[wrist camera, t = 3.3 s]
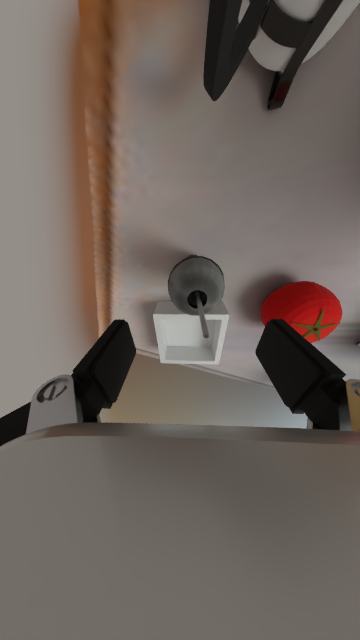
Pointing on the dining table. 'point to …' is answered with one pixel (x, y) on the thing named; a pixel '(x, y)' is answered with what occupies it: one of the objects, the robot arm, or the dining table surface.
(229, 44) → the coffee press
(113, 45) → the dining table surface
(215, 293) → the beverage cup
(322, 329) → the tomato
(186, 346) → the box
